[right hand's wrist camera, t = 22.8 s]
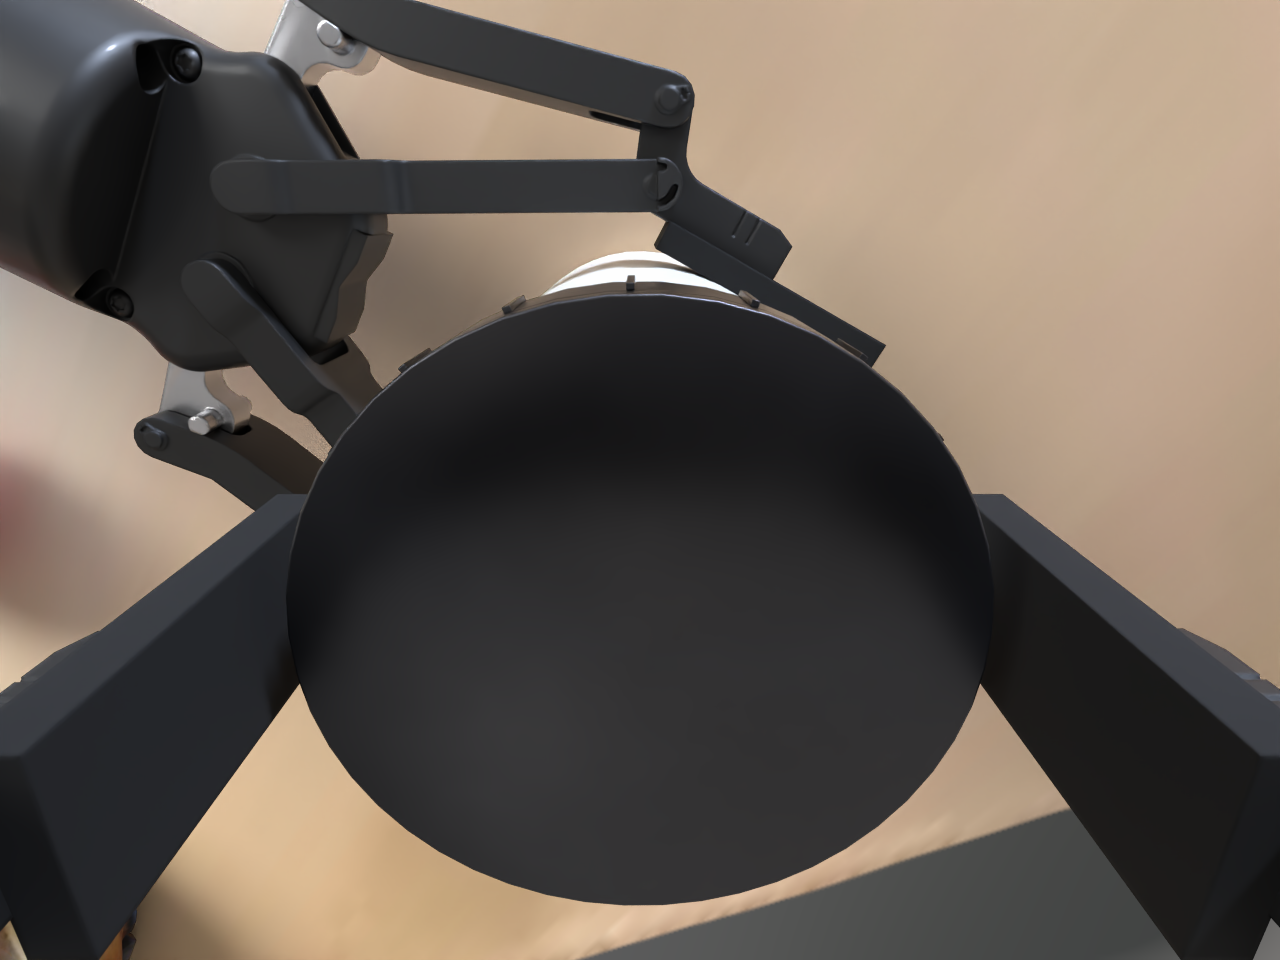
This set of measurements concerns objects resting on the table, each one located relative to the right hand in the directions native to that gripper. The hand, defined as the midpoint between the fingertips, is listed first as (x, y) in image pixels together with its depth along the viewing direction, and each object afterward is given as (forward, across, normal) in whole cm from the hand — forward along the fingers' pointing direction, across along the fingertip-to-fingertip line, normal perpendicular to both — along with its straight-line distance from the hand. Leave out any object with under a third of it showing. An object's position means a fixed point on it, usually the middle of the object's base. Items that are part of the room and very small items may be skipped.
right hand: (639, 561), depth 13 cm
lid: (-3, 0, 0) cm, 3 cm away
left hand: (+8, -4, +2) cm, 9 cm away
